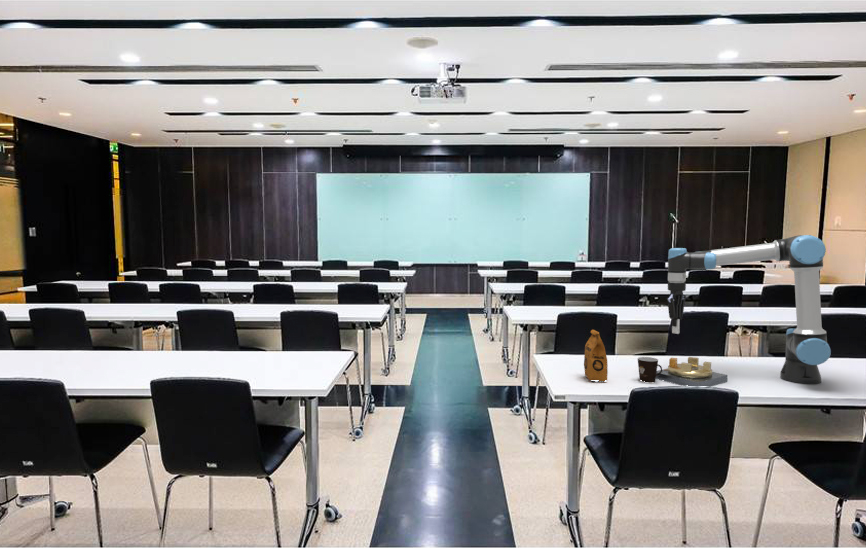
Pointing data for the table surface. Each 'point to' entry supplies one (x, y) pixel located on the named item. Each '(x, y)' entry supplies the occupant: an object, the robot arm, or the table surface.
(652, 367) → the coffee mug
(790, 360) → the robot arm
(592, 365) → the coffee package
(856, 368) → the table surface
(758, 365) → the table surface
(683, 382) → the housing
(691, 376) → the lathe chuck
